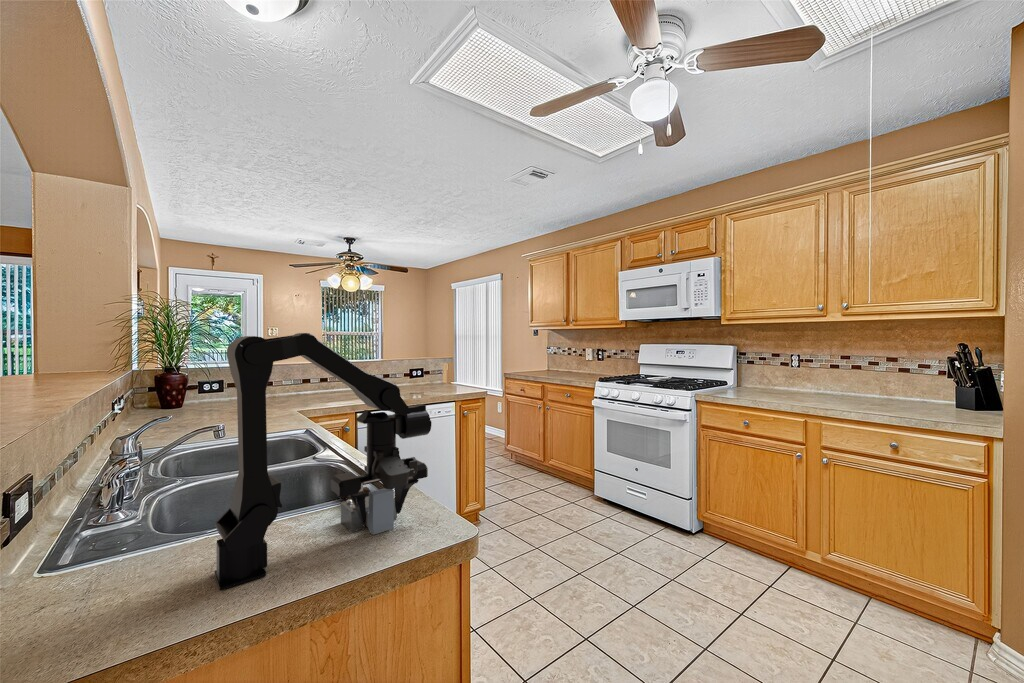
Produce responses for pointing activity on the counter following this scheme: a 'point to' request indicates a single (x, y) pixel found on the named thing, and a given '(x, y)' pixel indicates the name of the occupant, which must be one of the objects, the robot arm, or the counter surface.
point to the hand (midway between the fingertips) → (381, 518)
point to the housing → (355, 515)
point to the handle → (380, 511)
